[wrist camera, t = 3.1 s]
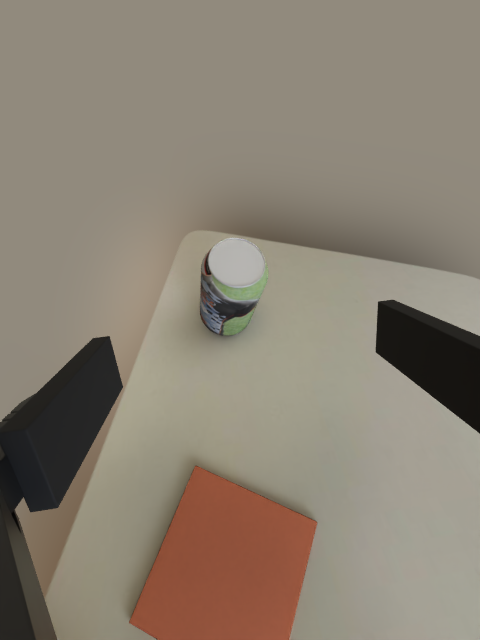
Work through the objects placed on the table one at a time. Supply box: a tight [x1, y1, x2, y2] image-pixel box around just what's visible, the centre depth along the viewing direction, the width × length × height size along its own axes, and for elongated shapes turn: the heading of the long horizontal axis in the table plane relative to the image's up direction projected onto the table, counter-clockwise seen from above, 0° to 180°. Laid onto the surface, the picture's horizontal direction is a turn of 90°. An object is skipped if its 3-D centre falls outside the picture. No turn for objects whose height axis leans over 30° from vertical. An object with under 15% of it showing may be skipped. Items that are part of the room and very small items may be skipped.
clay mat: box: [129, 466, 317, 640], centre depth 25 cm, size 12×12×1 cm
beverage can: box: [200, 238, 268, 336], centre depth 30 cm, size 6×7×12 cm
